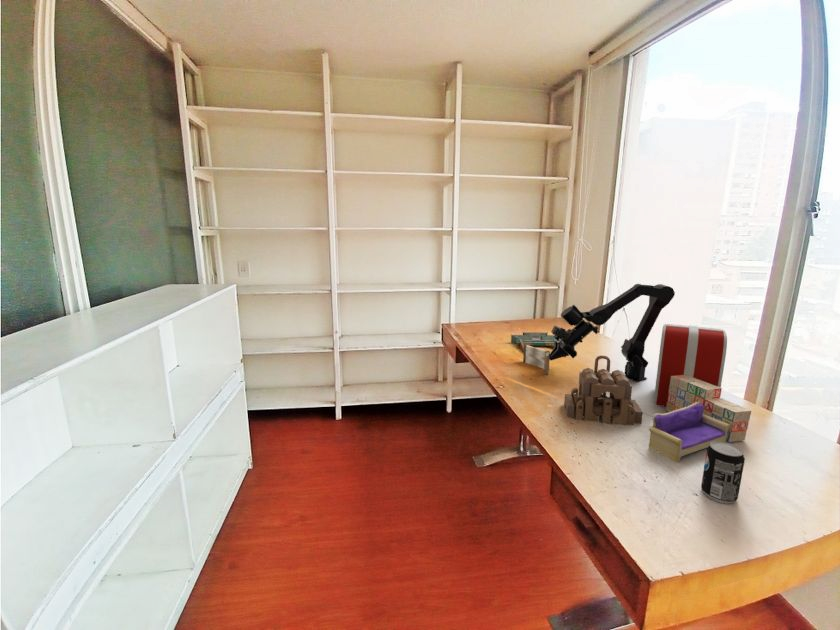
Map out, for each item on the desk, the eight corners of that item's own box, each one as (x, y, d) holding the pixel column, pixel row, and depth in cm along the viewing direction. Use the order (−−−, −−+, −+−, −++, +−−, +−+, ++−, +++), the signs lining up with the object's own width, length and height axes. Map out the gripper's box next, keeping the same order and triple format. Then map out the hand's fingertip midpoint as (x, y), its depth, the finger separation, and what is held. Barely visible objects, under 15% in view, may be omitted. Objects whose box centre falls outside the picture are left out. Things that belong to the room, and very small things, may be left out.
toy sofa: (676, 464, 100) (681, 428, 98) (646, 447, 108) (649, 414, 106) (727, 446, 108) (733, 413, 106) (695, 432, 116) (700, 400, 114)
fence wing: (544, 369, 166) (545, 352, 165) (549, 370, 166) (550, 352, 164) (543, 374, 161) (544, 356, 159) (548, 375, 160) (549, 356, 158)
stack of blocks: (745, 440, 110) (754, 400, 107) (728, 443, 108) (736, 402, 106) (680, 408, 130) (686, 373, 128) (664, 409, 129) (670, 374, 126)
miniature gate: (517, 350, 186) (509, 330, 214) (516, 360, 187) (508, 339, 216) (574, 351, 183) (559, 330, 212) (573, 361, 185) (558, 340, 213)
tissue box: (655, 388, 147) (663, 319, 141) (713, 398, 137) (724, 325, 132) (653, 404, 134) (661, 329, 128) (716, 417, 124) (729, 336, 118)
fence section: (549, 370, 167) (550, 351, 165) (547, 371, 166) (548, 352, 164) (524, 362, 178) (525, 344, 176) (522, 362, 177) (523, 345, 175)
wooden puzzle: (567, 420, 124) (571, 365, 120) (563, 401, 138) (566, 351, 134) (643, 428, 118) (650, 371, 114) (631, 407, 132) (637, 355, 128)
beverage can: (709, 482, 92) (717, 437, 90) (743, 499, 87) (751, 451, 84) (694, 492, 89) (701, 445, 87) (727, 509, 84) (736, 460, 81)
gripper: (559, 315, 166) (532, 339, 170) (569, 324, 148) (539, 351, 152) (577, 333, 166) (550, 357, 170) (590, 344, 148) (559, 371, 152)
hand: (549, 358), depth 161 cm, fingers closed
